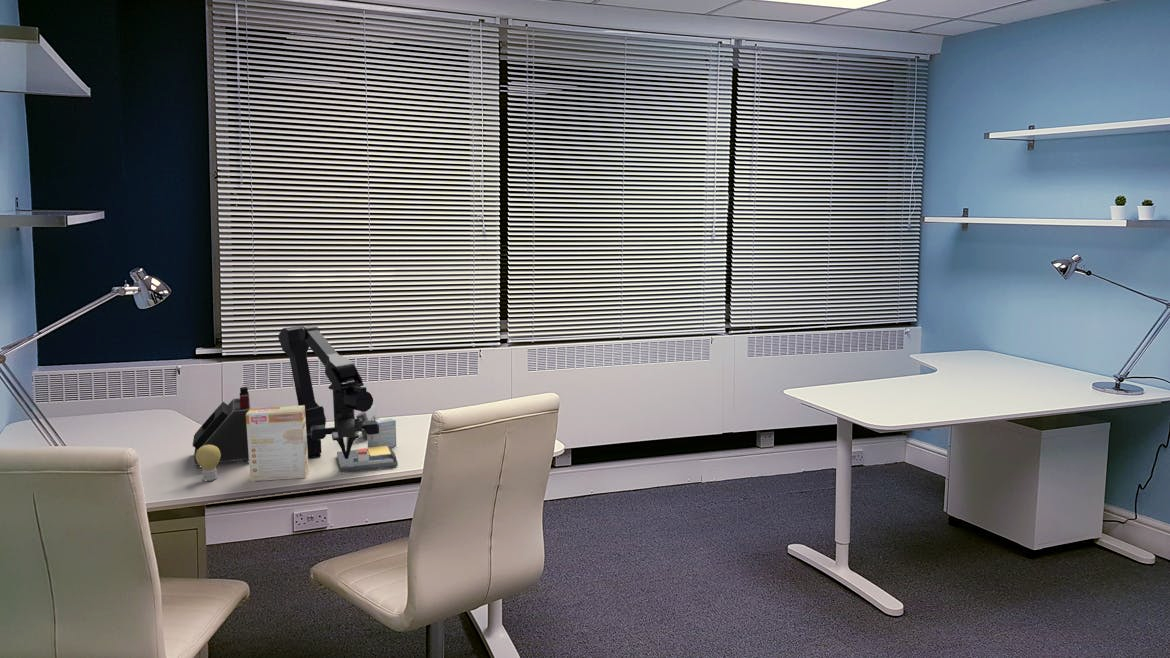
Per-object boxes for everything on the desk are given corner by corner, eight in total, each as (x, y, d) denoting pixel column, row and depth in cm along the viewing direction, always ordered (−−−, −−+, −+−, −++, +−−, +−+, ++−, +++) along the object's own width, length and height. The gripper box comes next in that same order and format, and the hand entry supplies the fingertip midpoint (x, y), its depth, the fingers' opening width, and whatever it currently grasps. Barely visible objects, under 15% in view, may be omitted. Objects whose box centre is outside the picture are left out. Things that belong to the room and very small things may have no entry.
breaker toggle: (358, 464, 261) (357, 452, 261) (357, 460, 265) (356, 448, 265) (369, 463, 262) (368, 451, 262) (367, 459, 266) (367, 447, 266)
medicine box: (389, 443, 287) (388, 417, 286) (397, 446, 284) (395, 419, 283) (367, 448, 282) (366, 421, 281) (374, 451, 279) (373, 424, 278)
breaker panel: (341, 472, 259) (340, 462, 259) (336, 456, 274) (336, 447, 274) (397, 466, 264) (397, 457, 264) (390, 451, 279) (390, 442, 279)
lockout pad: (370, 458, 267) (370, 456, 267) (367, 448, 277) (367, 447, 277) (391, 456, 269) (391, 454, 269) (387, 446, 279) (387, 445, 279)
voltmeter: (196, 453, 278) (191, 390, 274) (253, 448, 283) (249, 385, 280) (193, 469, 263) (188, 402, 259) (253, 463, 268) (249, 397, 265)
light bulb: (208, 475, 257) (205, 441, 256) (227, 477, 256) (224, 442, 254) (192, 482, 251) (189, 447, 250) (211, 484, 249) (209, 449, 248)
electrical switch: (374, 439, 292) (370, 411, 290) (358, 440, 292) (354, 412, 291) (383, 431, 301) (379, 404, 300) (368, 432, 302) (364, 405, 300)
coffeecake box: (309, 470, 261) (305, 404, 258) (305, 478, 254) (301, 411, 251) (254, 473, 259) (250, 407, 255) (249, 481, 252) (245, 413, 248)
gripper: (310, 415, 249) (313, 470, 251) (380, 409, 255) (382, 463, 257) (309, 406, 259) (312, 458, 262) (375, 400, 265) (378, 452, 268)
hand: (346, 458), depth 262 cm, fingers closed
